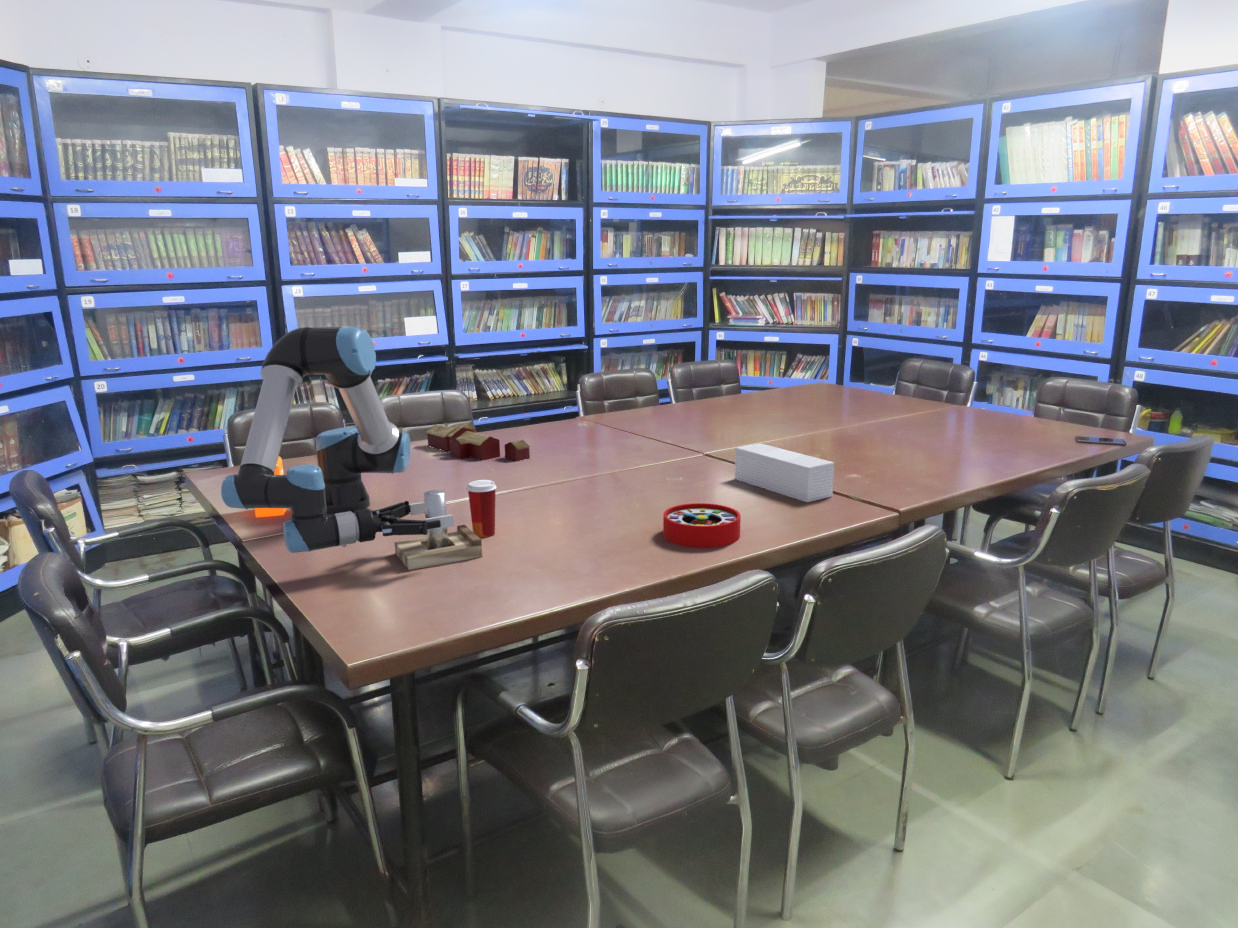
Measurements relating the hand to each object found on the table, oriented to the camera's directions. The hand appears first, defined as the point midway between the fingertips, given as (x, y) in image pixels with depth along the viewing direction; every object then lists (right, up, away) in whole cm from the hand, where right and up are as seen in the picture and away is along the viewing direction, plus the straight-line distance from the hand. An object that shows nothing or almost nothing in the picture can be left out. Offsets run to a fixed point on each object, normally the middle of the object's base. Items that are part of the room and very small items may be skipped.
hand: (444, 512), depth 203 cm
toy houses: (-10, +16, +107) cm, 108 cm away
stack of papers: (+94, +4, +57) cm, 110 cm away
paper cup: (+7, -7, +17) cm, 19 cm away
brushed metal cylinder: (-2, -11, +2) cm, 11 cm away
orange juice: (-58, -2, +38) cm, 69 cm away
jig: (-2, -11, +2) cm, 11 cm away
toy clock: (+64, -7, +14) cm, 66 cm away
